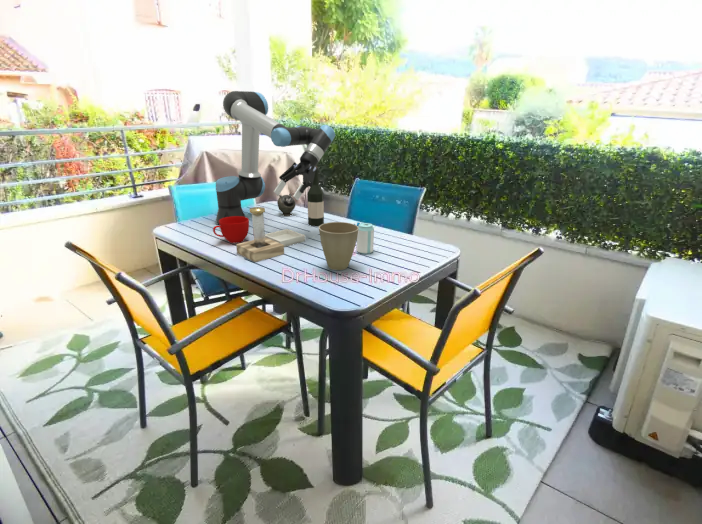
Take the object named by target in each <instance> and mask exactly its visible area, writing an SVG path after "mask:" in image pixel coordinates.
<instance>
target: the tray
mask: <svg viewBox="0 0 702 524" xmlns="http://www.w3.org/2000/svg"><path fill="white" fill-rule="evenodd" d="M265 238H268V239H270V240H273V241H275V242H278V243H280V244H283V245H284V248H286V247H289V246H293V244H294V245H297V243H298V244H301V243H305V242H306V235H305V234H304V233H300V232H297V231H295V230H291V229H289V228H286V229H282V230H281V229H280V230H277V231H276V230H275V231H272V232H269V233H268V232H267V233H265Z"/></svg>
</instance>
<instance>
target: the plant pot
mask: <svg viewBox="0 0 702 524" xmlns="http://www.w3.org/2000/svg"><path fill="white" fill-rule="evenodd" d="M354 224H355V223H351V222H344V221H331V222H326V223H325V222H324V224H322V225H320V226H318V233H319V239H320V243H321V248H322V251H323V254H324V258H325V261H326V264H327V266H328V268H329V269H330V270H334V271H343V270H347V269H348V267H349V265H350V262H351V260H352V257H353V254H354V251H355V248H356V245H357V235H358V230H359V227H358V226H357V224H356V225H354Z"/></svg>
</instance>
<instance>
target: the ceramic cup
mask: <svg viewBox="0 0 702 524" xmlns="http://www.w3.org/2000/svg"><path fill="white" fill-rule="evenodd" d="M217 228H219V230H220V232H221V234H218V233H217V232H216V229H217ZM249 230H250V219H249V218H248V217H246V216H245V217H242V216H232V217H225V218H222V219H220V220H219V225H215V226H213V228H212V232H213V234H214V235H215V236H216V237H220V238H224V239H225V240H226V241H227V242H228V243H230V244H239V243H244V242H245V239H246V237H247V236H248V233H249V232H250V231H249Z"/></svg>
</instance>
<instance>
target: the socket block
mask: <svg viewBox="0 0 702 524" xmlns="http://www.w3.org/2000/svg"><path fill="white" fill-rule="evenodd" d="M235 244H236V254H238V255H240V256H241V257H244V258H246V259H247V260H249V261H252V262H254V263H257V262H261V261H264V260H265V261H266V260H268V259H271V258H275V257H278V255H279V256H282V255H285V247H284V245H283V244H280V243H278V242H275V241H273V240H270V239H268V238H265V244H266V246H264V247H260V248H256V247H255V246H254V239H252V240H248V241H243V242H240V243H235Z"/></svg>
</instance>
